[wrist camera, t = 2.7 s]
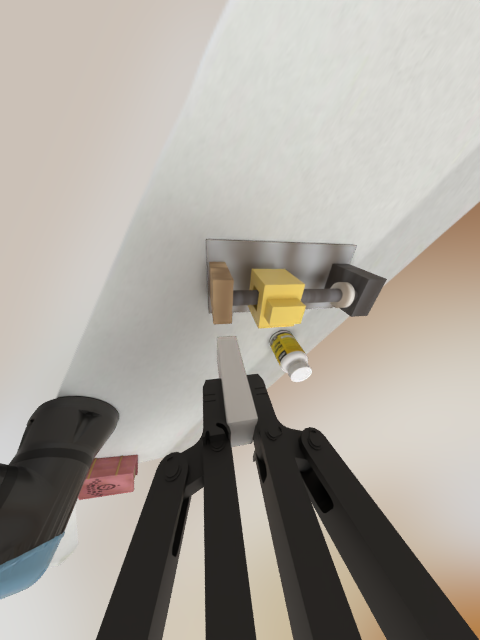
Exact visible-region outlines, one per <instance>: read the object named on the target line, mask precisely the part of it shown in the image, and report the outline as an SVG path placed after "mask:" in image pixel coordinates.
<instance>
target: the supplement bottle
mask: <svg viewBox="0 0 480 640" xmlns="http://www.w3.org/2000/svg"><path fill="white" fill-rule="evenodd" d="M270 346H271V348H272V350H273V352H274V354H275V357H276V359H277V361H278V363H279V365H280V367H281V369H282V370H283V371H284V372H286V373H288V375H289V376H290V378H291V380H292V381H294V382H300V381H303V380H305V379H307V378H308V377H309V376H310V375H311V373H312V370H311V368H310V367H309V365H308V364H307V363H308V358H307V355H306V354H305V352H304V351H303V349H302V348H301V346H300V345H299V344H298V342H297V341H296V339H295V338H294V336H293V335H292V334H291V333H290V332H288V331H280V332H277V333H276V334H274V335H273V336H272V338H271V339H270Z"/></svg>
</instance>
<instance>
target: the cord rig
mask: <svg viewBox="0 0 480 640" xmlns="http://www.w3.org/2000/svg"><path fill="white" fill-rule="evenodd" d="M356 247H357V245H343V244H317V243H292V242H267V241H241V240H216V239H206V248H207V275H208V303H209V313H212V316H213V323H214V324H230V323H232V312H250V310H249V308H248V305H257V304H258V297H259V291H258V290H250V280H251V270H252V269H285V270H287V271H288V272H289V273H291V274H292V275H293V276H295V277H296V278H297V279H299V280H300V281H301V282H303V283H304V284H305V287H304V291H303V294H302V298H301V302H302V303H303V304H304V305H305V306H306V307H305V309H321V308H332V307H335V308H340V309H341V310H343V311H344V312H346V313H347V314H348V315H350V316H351V317H353V316H367V315H368V313H369V311H370V310H371V308H372V306H373V304H374V302H375V300H376V298H377V297H378V295H379V293H380V291H381V289H382V287H383V285H384V284H385V282H386V280H387V279H385V278H383V277H380V276H377V275H375V274H372V273H370V272H367V271H365V270H362V269H360V268H357V267H355V266H352V265H350V262H351V260H352V257H353V255H354V252H355V250H356Z"/></svg>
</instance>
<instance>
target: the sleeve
mask: <svg viewBox="0 0 480 640" xmlns="http://www.w3.org/2000/svg"><path fill="white" fill-rule="evenodd" d="M304 287H305V284H304V283H303V282H301V281H300V280H299V279H297V278H296V277H295V276H293V275H292V274H291V273H289V272H288V271H287V270H285V269H252V270H251V280H250V290H258V291H259V297H258V304H257V305H248V308H249V310H250V312H251V314H252V316H253V318H254V320H255V322H256V324H257V326H258V328H272V327H287V326H294V324H301V320H302V317H303V314H304V311H305V307H306V306H305V305H304V304H303V303H302V302H301V298H302V294H303V291H304Z"/></svg>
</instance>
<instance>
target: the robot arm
mask: <svg viewBox="0 0 480 640" xmlns="http://www.w3.org/2000/svg"><path fill="white" fill-rule="evenodd" d="M217 364H218V373H219V379H211V380H206V381H205V384H204V386H203V433H202V436H201V438H200V440H199V441H198V442H197V443H196V444H195V445H194V446H192V447H191V448H189V449H187V450H185V451H184V452H182V453H179V452H174V453H171V454H169V455H167V456H166V457H165V458H164V459H163V460H162V461H161V462H160V464H159V466H158V468H157V470H156V473H155V476H154V479H153V481H152V484H151V487H150V490H149V493H148V496H147V498H146V501H145V504H144V507H143V509H142V512H141V515H140V518H139V521H138V524H137V526H136V529H135V532H134V535H133V537H132V540H131V543H130V546H129V549H128V551H127V554H126V557H125V560H124V563H123V565H122V568H121V571H120V574H119V576H118V579H117V582H116V585H115V588H114V590H113V593H112V596H111V599H110V602H109V604H108V607H107V610H106V613H105V616H104V618H103V621H102V624H101V627H100V630H99V632H98V635H97V638H96V640H162V637H163V632H164V627H165V622H166V618H167V613H168V608H169V603H170V598H171V593H172V587H173V583H174V579H175V574H176V569H177V564H178V559H179V554H180V549H181V544H182V539H183V534H184V530H185V524H186V519H187V515H188V510H189V505H190V500H191V495H193V494H194V493H196V492H197V491H198V490H200V489H201V488H203V487H204V541H205V542H204V543H205V544H204V545H205V617H206V619H205V620H206V640H256V633H255V626H254V618H253V610H252V603H251V595H250V587H249V579H248V572H247V564H246V556H245V548H244V540H243V533H242V525H241V518H240V510H239V502H238V494H237V487H236V478H235V471H234V463H233V455H232V448H231V447H235V446H240V445H246V444H251V443H252V442H253V441H254V446H255V451H254V455H253V461H255V460H256V465H257V469H258V474H259V479H260V484H261V488H262V493H263V498H264V502H265V507H266V511H267V516H268V521H269V526H270V530H271V535H272V540H273V545H274V549H275V554H276V559H277V564H278V568H279V573H280V577H281V582H282V587H283V592H284V597H285V602H286V606H287V611H288V616H289V620H290V625H291V630H292V635H293V639H294V640H362V639H361V637H360V634H359V631H358V628H357V625H356V623H355V620H354V618H353V615H352V612H351V609H350V607H349V604H348V601H347V598H346V596H345V593H344V590H343V587H342V585H341V582H340V579H339V577H338V574H337V571H336V568H335V566H334V563H333V561H332V558H331V555H330V552H329V549H328V547H327V544H326V541H325V539H324V536H323V533H322V530H321V528H320V525H319V522H318V519H317V517H316V514H315V511H314V509H313V506H314V508H315V510H316V512H317V513H318V515H319V517H320V518H321V521H322V522H323V524H324V526H325V528H326V530H327V532H328V533H329V535H330V537H331V539H332V541H333V542H334V544H335V546H336V548H337V550H338V552H339V553H340V555H341V557H342V559H343V561H344V562H345V564H346V566H347V568H348V570H349V572H350V573H351V575H352V577H353V579H354V581H355V583H356V584H357V586H358V588H359V590H360V592H361V593H362V595H363V597H364V599H365V601H366V603H367V604H368V606H369V608H370V610H371V612H372V613H373V615H374V617H375V619H376V621H377V623H378V624H379V626H380V628H381V630H382V632H383V633H384V635H385V637H386V639H387V640H479V639H478V638H477V636H476V635H475V634H474V632H473V631H472V630H471V628H470V627H469V626H468V624H467V623H466V622H465V620H464V619H463V618H462V616H461V615H460V614H459V613H458V611H457V610H456V609H455V607H454V606H453V605H452V603H451V602H450V601H449V599H448V598H447V597H446V595H445V594H444V593H443V592H442V590H441V589H440V587H439V586H438V585H437V584H436V582H435V581H434V580H433V578H432V577H431V576H430V574H429V573H428V572H427V570H426V569H425V568H424V566H423V565H422V564H421V562H420V561H419V560H418V558H417V557H416V556H415V555H414V553H413V552H412V551H411V549H410V548H409V547H408V545H407V544H406V543H405V541H404V540H403V539H402V537H401V536H400V535H399V533H397V531H396V530H395V528H394V527H393V526H392V524H391V523H390V522H389V520H388V519H387V518H386V516H385V515H384V514H383V512H382V511H381V510H380V509H379V507H378V506H377V504H376V503H375V502H374V500H373V499H372V498H371V497H370V495H369V494H368V493H367V491H366V490H365V489H364V487H363V486H362V485H361V484H360V482H359V481H358V479H357V478H356V477H355V476H354V474H353V473H352V472H351V470H350V469H349V468H348V466H347V465H346V464H345V462H344V461H343V460H342V458H341V457H340V456H339V454H338V453H337V452H336V451H335V449H334V448H333V447H332V445H331V444H330V443H329V441H328V440H327V439H326V437H325V436H324V435H323V434H322V433H321V432H320V431H319V430H317V429H315V428H311V427H309V428H305V430H303V431H299V430H295V429H290V428H287V427H285V426H283V425H282V424H281V423H280V422H279V421H278V419H277V417H276V415H275V412H274V410H273V407H272V404H271V401H270V398H269V395H268V392H267V390H266V387H265V384H264V381H263V379H262V378H261V377H260V376H259V375H258V374H252V375H246V372H245V368H244V364H243V361H242V357H241V353H240V349H239V346H238V342H237V338H236V336H226V337H217ZM118 419H119V415H118V412H117V411H116V409H115V408H114V407H112V406H111V405H109V404H107V403H105V402H103V401H100V400H97V399H92V398H87V397H62V398H57V399H53V400H50V401H47V402H45V403H43V404H42V405H41V406H39V407H38V408H37V410H36V411H35V412H34V414H33V415H32V416H31V417H30V419H29V421H28V423H27V427H26V430H25V432H24V435H23V437H22V440H21V443H20V446H19V449H18V452H17V454H16V455H15V457H14V458H13V460H12V461H11V462H10V464H9V465H5V464H1V463H0V599H2V598H5V597H8V596H10V595H13V594H15V593H18V592H20V591H23V590H25V589H27V588H29V587H30V586H32V585H33V584H34V583H35V582H36V581H37V580H38V579H39V578H40V577H41V576H42V575H43V574H44V572H45V571H46V569H47V568H48V566H49V564H50V562H51V560H52V557H53V555H54V553H55V551H56V549H57V547H58V545H59V543H60V540H61V538H62V537H63V536H64V533H65V528H66V526H67V523H68V521H69V518H70V516H71V513H72V511H73V508H74V506H75V504H76V501H77V498H78V496H79V494H80V491H81V489H82V486H83V484H84V481H85V479H86V476H87V474H88V471H89V469H90V466H91V464H92V462H93V459H94V457H95V456H96V454H97V453H98V452H99V450H100V449H101V448H102V446H103V445H104V444H105V442H106V441H107V439H108V438H109V437H110V435H111V434H112V433H113V431H114V429H115V427H116V425H117V422H118ZM311 502H312V503H311ZM312 504H313V506H312Z"/></svg>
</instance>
